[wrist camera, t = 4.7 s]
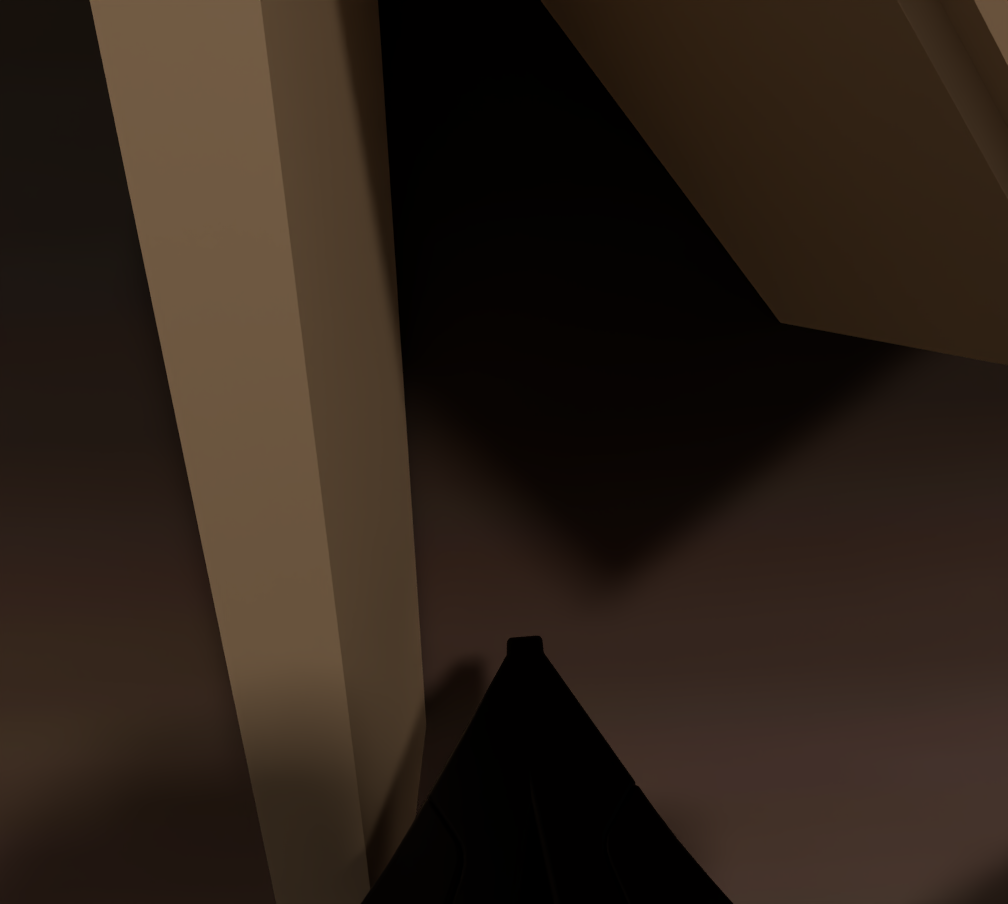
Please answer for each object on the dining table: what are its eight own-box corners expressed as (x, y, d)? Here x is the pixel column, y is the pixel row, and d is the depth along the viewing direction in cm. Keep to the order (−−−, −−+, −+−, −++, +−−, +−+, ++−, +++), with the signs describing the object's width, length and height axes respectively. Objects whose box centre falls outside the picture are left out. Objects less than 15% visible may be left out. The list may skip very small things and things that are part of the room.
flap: (428, 725, 11) (393, 1040, 7) (374, 727, 11) (301, 1045, 7) (366, -241, 6) (99, -1422, 2) (272, -244, 6) (-225, -1456, 2)
